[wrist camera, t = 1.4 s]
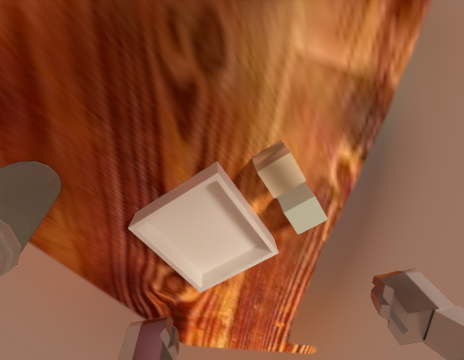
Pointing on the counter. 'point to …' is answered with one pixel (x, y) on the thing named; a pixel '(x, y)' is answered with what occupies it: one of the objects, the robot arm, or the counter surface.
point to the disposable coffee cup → (23, 206)
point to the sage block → (301, 208)
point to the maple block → (278, 169)
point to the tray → (204, 229)
